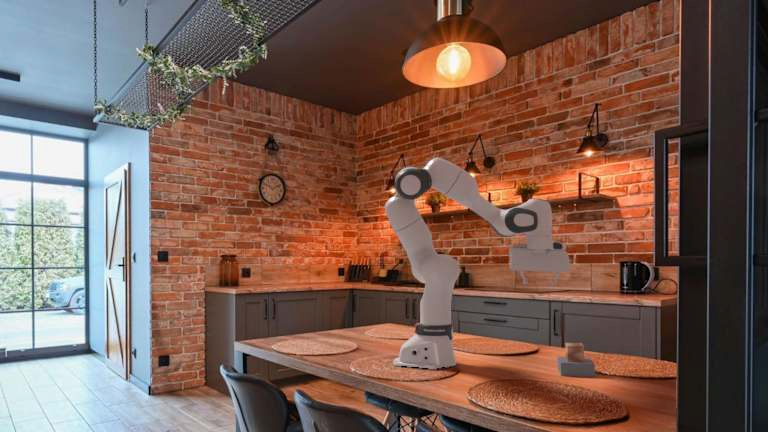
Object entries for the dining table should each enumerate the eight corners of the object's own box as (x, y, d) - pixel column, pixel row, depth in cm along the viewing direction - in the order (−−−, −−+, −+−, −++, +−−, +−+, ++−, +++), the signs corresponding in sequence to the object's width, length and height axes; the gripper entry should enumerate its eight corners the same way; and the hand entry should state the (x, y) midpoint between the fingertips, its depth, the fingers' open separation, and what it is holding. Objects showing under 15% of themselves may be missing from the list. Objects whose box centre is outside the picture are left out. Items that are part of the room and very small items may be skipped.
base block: (561, 375, 154) (560, 362, 155) (557, 368, 164) (557, 356, 164) (595, 377, 152) (594, 364, 152) (589, 369, 162) (589, 357, 162)
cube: (567, 361, 156) (567, 345, 157) (566, 358, 161) (565, 342, 162) (584, 362, 155) (583, 346, 156) (582, 358, 160) (581, 343, 160)
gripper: (508, 243, 172) (508, 283, 170) (570, 244, 167) (571, 285, 165) (508, 244, 178) (508, 282, 177) (568, 245, 173) (568, 284, 171)
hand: (539, 284), depth 171 cm, fingers open, 8 cm apart
